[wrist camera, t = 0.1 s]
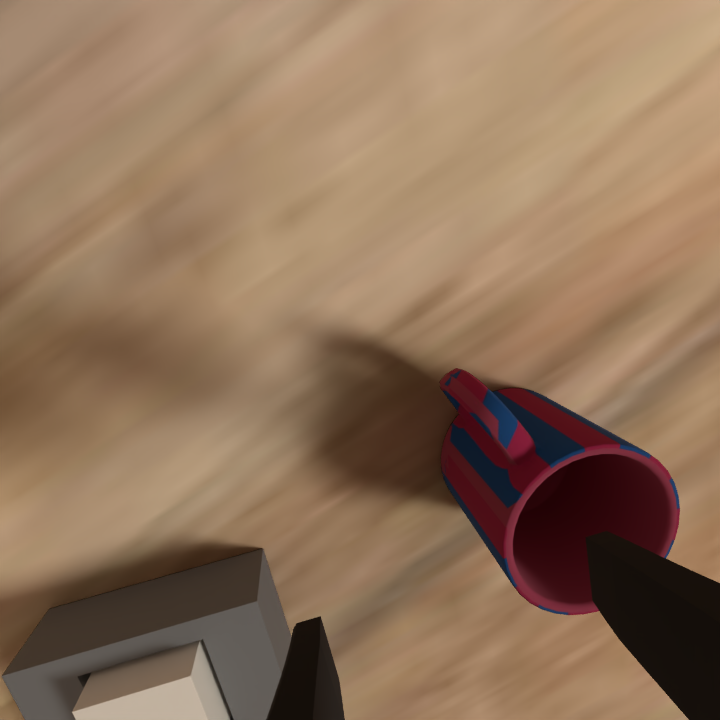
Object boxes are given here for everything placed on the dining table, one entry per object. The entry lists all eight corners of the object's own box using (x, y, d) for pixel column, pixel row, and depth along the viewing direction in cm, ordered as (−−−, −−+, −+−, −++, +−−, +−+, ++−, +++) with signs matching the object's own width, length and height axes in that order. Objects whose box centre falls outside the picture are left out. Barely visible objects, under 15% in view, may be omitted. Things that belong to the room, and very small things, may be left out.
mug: (482, 536, 23) (556, 648, 16) (377, 386, 20) (415, 446, 14) (589, 463, 23) (707, 545, 16) (497, 303, 20) (594, 323, 14)
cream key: (231, 706, 20) (224, 760, 18) (133, 738, 20) (113, 795, 18) (202, 629, 19) (190, 675, 17) (97, 660, 19) (72, 711, 16)
